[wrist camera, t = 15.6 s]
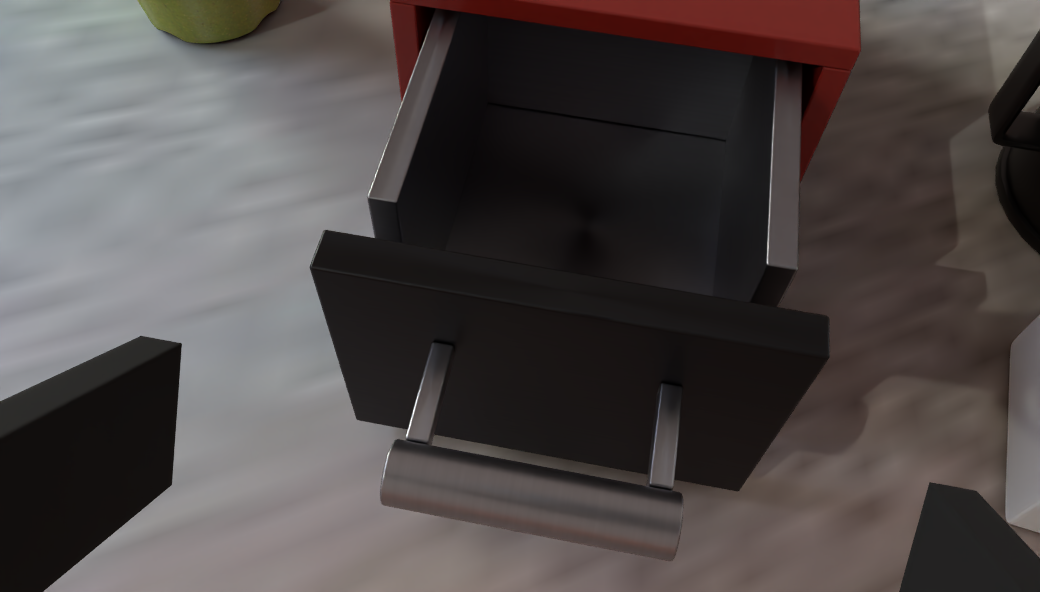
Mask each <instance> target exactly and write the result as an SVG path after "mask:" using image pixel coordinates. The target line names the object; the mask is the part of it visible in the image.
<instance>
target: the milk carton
mask: <svg viewBox="0 0 1040 592" xmlns="http://www.w3.org/2000/svg"><path fill="white" fill-rule="evenodd" d="M1005 514H1006V521H1007V522H1008V523H1010V524H1012V525H1015V526H1018V527H1022V528H1025V529H1028V530H1031V531H1035V532H1038V533H1040V315H1039V316H1038V317H1037V318H1036V319H1035V320H1034V321H1033V322H1032V323H1031V324H1030V325H1029V326H1028V327H1027V328H1026V329H1025V330H1023V331H1022V332H1021V333H1020V334H1019V335H1018V336H1017V337H1016V339H1015V340H1014V341H1013V342H1012V344H1011V350H1010V375H1009V406H1008V438H1007V470H1006V503H1005Z"/></svg>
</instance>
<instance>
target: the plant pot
mask: <svg viewBox="0 0 1040 592" xmlns="http://www.w3.org/2000/svg"><path fill="white" fill-rule="evenodd" d="M138 2H139V4H140V5H141V7H142V8H143V10H144V11H145V13H146V14H147V16H148V18H149V19H150V21H151V22H152V24H153V25H154V26H155V27H156V28H157V29H159V30H164V31H166V32H168V33H170V34H172V35H174V36H176V37H178V38H180V39H182V40H183V41H186V42H192V43H215V42H221V41H226V40H230V39H234V38H237V37H240V36H243V35H245V34H247V33H250V32H251V31H253V30H254V29H256V27H257V26H258V24H259V23H260V22H261V20H262V19H263V18H264V17H265V16H266V15H267V14H269V13H270V12H272V11H275V10H276V9H277V7H278V5H279V3H280V0H138Z"/></svg>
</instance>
